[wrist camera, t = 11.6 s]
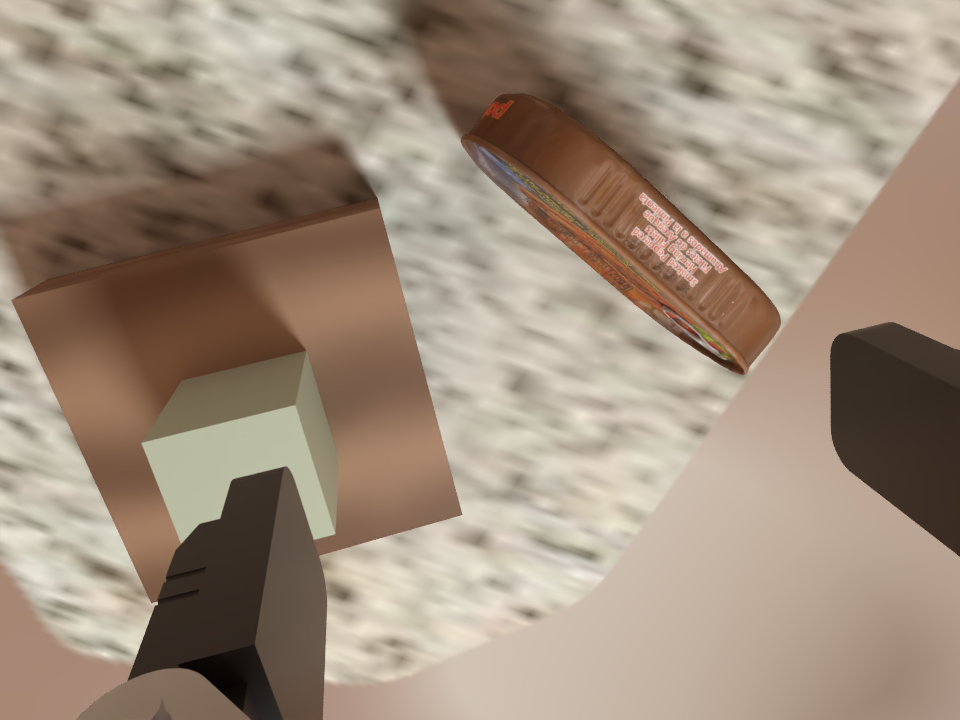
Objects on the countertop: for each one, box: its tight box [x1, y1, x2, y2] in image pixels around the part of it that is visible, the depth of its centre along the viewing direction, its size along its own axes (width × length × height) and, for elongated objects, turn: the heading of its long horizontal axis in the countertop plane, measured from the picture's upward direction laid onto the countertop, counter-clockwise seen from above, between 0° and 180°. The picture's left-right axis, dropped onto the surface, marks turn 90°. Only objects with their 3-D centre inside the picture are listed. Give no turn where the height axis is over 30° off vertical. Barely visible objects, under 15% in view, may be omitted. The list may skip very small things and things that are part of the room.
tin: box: [461, 94, 781, 375], centre depth 30 cm, size 15×3×8 cm, turn 50°
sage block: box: [142, 351, 339, 544], centre depth 28 cm, size 5×5×6 cm
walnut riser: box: [12, 198, 462, 603], centre depth 33 cm, size 14×14×4 cm
